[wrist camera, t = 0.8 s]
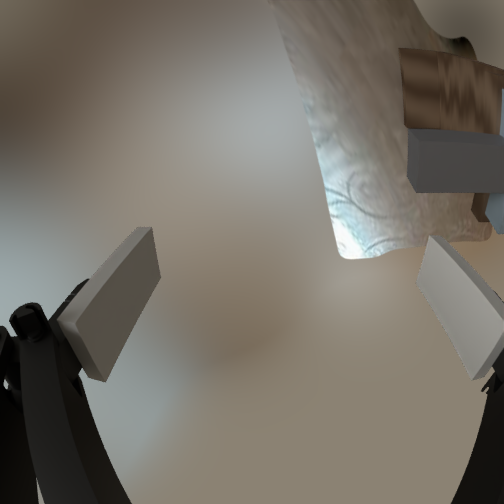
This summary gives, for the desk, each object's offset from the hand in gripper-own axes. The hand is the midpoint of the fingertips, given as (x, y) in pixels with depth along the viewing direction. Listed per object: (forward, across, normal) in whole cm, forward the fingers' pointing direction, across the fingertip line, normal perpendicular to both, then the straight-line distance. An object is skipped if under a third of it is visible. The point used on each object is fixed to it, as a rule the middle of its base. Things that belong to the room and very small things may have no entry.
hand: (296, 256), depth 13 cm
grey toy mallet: (+8, +17, +6) cm, 20 cm away
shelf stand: (+34, +25, +14) cm, 44 cm away
